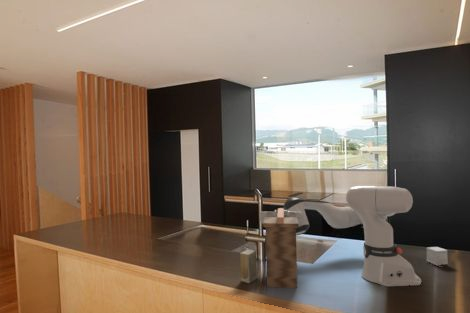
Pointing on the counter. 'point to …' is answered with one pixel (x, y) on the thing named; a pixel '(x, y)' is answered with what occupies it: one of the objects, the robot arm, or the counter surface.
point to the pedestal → (281, 252)
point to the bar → (280, 216)
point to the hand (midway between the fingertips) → (280, 211)
